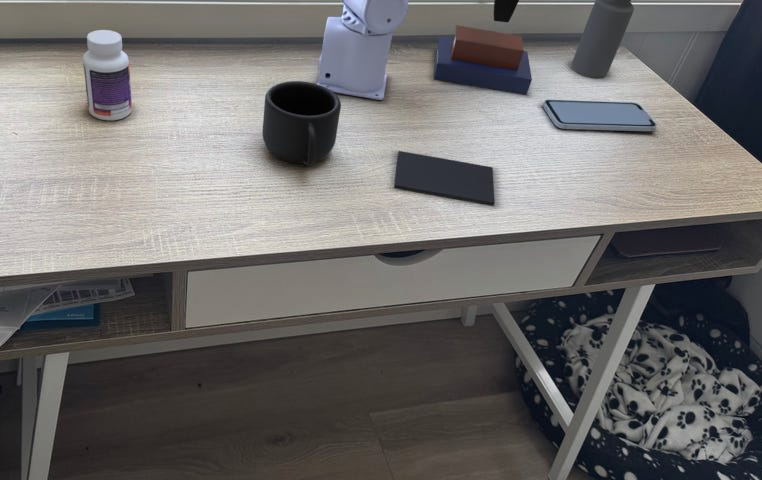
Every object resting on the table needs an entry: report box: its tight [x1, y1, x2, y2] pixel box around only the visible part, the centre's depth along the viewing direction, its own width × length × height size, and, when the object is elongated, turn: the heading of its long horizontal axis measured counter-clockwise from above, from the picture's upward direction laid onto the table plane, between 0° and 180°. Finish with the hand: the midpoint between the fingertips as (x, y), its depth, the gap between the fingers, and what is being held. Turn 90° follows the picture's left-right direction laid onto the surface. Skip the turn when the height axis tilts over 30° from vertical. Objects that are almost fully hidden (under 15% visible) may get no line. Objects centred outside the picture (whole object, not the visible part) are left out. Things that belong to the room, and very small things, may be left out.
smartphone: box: [542, 99, 658, 132], centre depth 106 cm, size 7×1×15 cm
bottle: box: [570, 0, 635, 79], centre depth 113 cm, size 6×6×15 cm
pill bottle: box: [82, 29, 133, 121], centre depth 90 cm, size 5×5×10 cm
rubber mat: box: [394, 150, 496, 206], centre depth 90 cm, size 12×8×1 cm, turn 81°
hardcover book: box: [433, 35, 533, 96], centre depth 112 cm, size 14×10×2 cm
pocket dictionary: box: [451, 24, 525, 70], centre depth 111 cm, size 10×6×3 cm, turn 81°
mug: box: [262, 80, 342, 167], centre depth 88 cm, size 12×9×7 cm
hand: (500, 9), depth 106 cm, fingers open, 7 cm apart
